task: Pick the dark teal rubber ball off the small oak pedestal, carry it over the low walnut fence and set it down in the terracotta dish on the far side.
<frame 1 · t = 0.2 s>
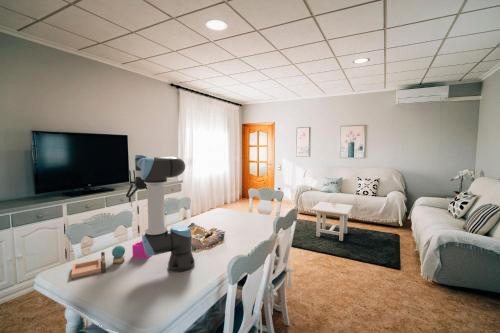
hand: (141, 205, 175), 28 cm above the table, fingers open, 13 cm apart
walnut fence: (103, 266, 142), on the table
ball: (118, 251, 147), point 6 cm above the table, touching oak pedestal
pink piece: (145, 254, 159), on the table
fossil: (161, 242, 178), on the table
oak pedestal: (118, 262, 147), on the table
terracotta dish: (87, 270, 137), on the table
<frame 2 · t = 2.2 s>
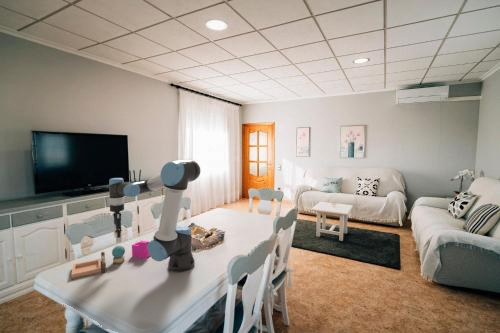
hand: (117, 238, 146), 15 cm above the table, fingers open, 13 cm apart
nothing on the table moved.
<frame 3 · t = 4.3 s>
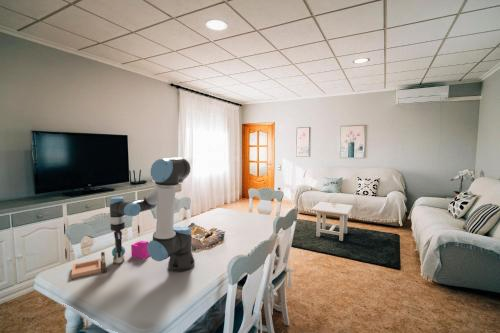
hand: (118, 259, 147), 2 cm above the table, fingers closed on ball, 7 cm apart
ball: (118, 251, 147), point 6 cm above the table, touching gripper, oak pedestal
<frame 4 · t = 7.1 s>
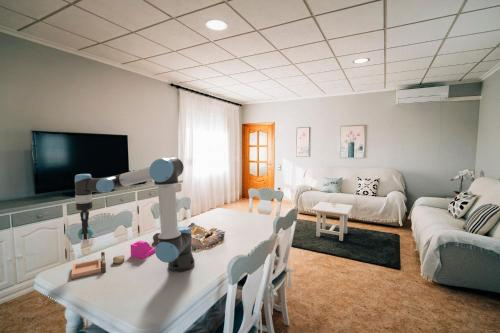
hand: (85, 242, 135), 16 cm above the table, fingers closed on ball, 7 cm apart
ball: (85, 233, 135), point 21 cm above the table, touching gripper
when the fingers open (3 cm above the table, at t = 10.3 s): ball drops 3 cm, resting on terracotta dish.
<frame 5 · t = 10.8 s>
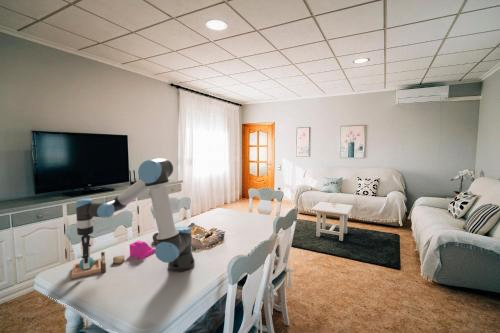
hand: (86, 263, 136), 4 cm above the table, fingers open, 13 cm apart
ball: (86, 263, 136), point 4 cm above the table, touching terracotta dish
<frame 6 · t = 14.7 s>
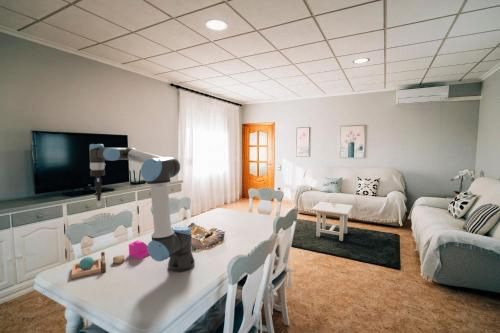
hand: (98, 203, 149), 35 cm above the table, fingers open, 13 cm apart
at the end: ball inside the target area on the terracotta dish (0.1 cm from its centre), point 4.1 cm above the terracotta dish's base; the gripper is holding nothing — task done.
